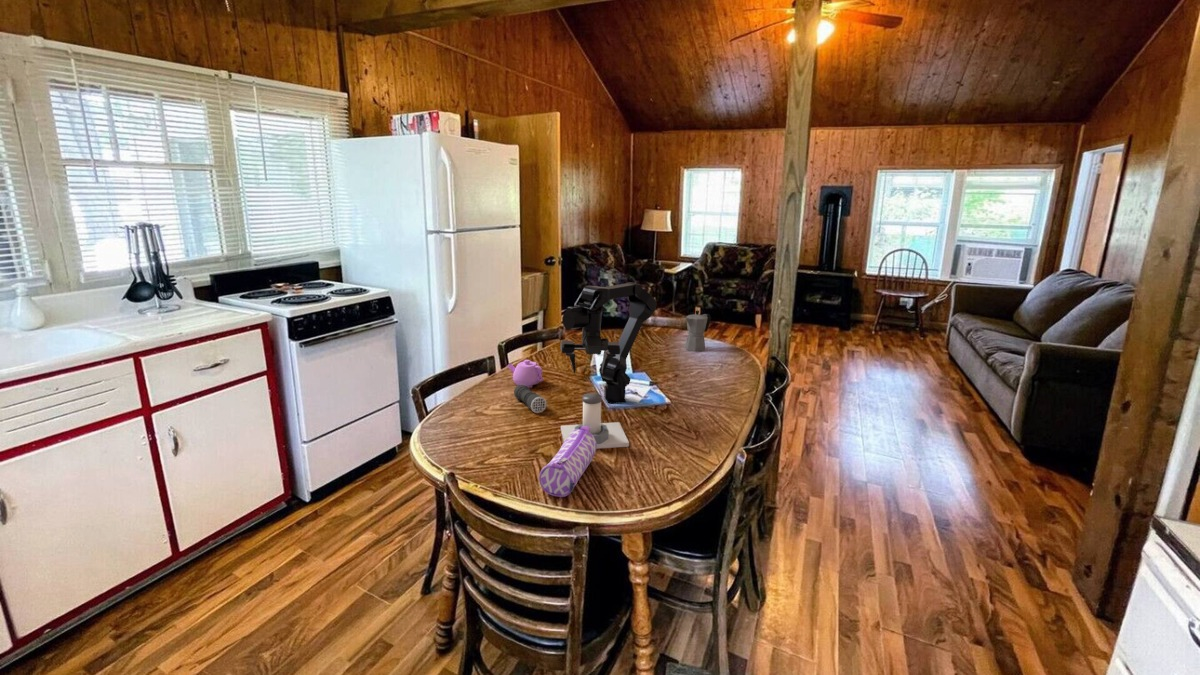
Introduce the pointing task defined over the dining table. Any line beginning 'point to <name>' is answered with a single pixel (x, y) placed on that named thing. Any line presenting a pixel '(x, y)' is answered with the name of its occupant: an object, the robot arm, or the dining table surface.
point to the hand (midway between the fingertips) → (588, 373)
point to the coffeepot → (696, 331)
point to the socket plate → (612, 435)
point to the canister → (592, 412)
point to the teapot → (526, 373)
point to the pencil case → (568, 463)
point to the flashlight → (530, 398)
